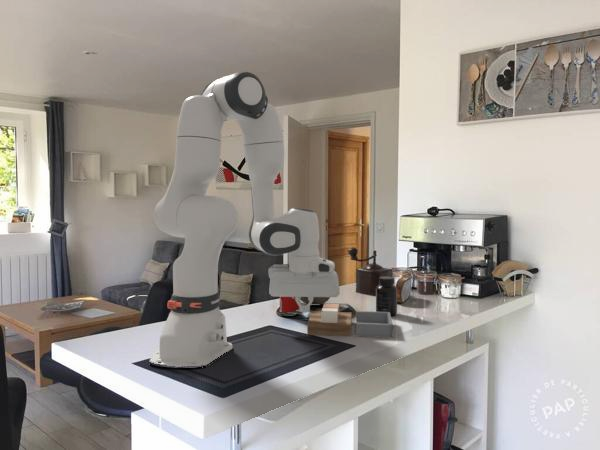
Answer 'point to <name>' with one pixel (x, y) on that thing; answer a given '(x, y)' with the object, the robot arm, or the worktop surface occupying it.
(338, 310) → the salmon orange block
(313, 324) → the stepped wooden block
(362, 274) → the manual coffee grinder
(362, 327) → the grey tray
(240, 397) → the worktop surface
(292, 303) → the beverage can
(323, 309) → the cream block
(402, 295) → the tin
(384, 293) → the supplement bottle
